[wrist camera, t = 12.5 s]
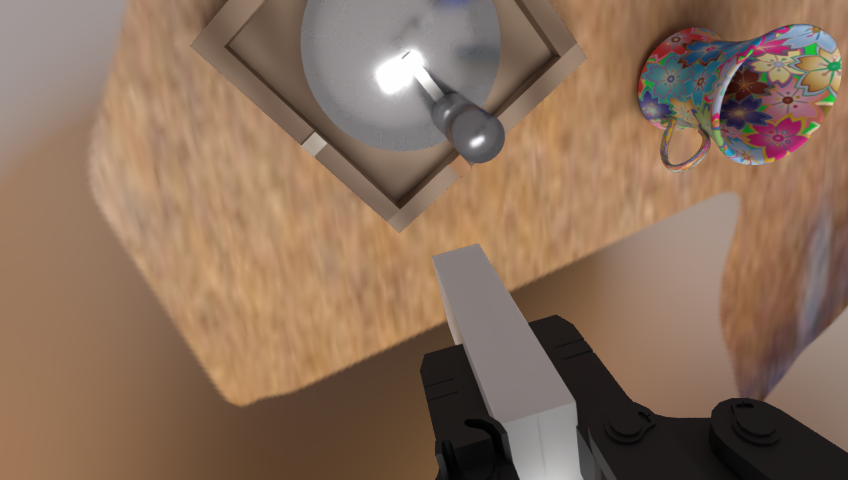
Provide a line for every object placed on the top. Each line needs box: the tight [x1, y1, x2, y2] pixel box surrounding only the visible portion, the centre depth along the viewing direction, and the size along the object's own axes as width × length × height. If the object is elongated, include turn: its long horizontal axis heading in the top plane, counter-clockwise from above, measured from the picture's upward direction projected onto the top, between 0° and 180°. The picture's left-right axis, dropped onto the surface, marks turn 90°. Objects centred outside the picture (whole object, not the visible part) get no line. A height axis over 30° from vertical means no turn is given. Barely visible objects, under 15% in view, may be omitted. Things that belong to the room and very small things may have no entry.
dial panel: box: [190, 0, 587, 233], centre depth 34 cm, size 20×20×4 cm
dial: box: [301, 0, 505, 163], centre depth 30 cm, size 14×14×10 cm
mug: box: [638, 24, 842, 172], centre depth 36 cm, size 12×9×11 cm
